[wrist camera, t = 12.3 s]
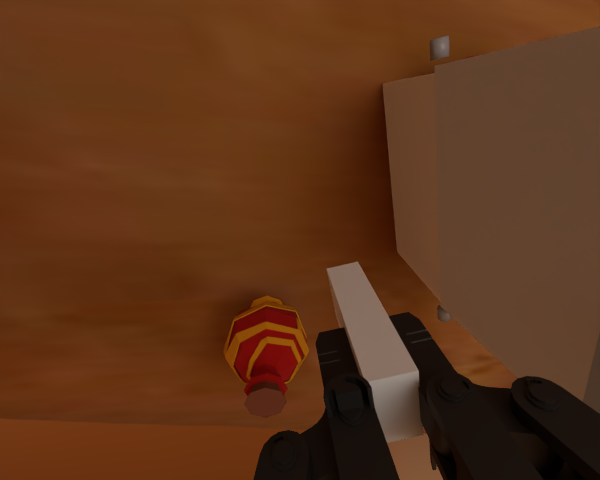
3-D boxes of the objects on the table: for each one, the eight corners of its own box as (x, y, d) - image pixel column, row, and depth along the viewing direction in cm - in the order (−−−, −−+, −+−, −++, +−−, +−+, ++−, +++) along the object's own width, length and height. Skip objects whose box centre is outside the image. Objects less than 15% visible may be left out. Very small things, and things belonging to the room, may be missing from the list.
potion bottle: (228, 281, 42) (208, 366, 28) (304, 279, 43) (320, 361, 29) (232, 342, 46) (216, 441, 32) (301, 339, 47) (314, 436, 33)
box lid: (445, 63, 22) (434, 65, 22) (759, -12, 9) (734, -6, 9) (447, 303, 30) (440, 306, 30) (609, 446, 17) (596, 451, 17)
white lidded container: (373, 63, 33) (434, 38, 21) (499, 35, 33) (637, -8, 21) (391, 259, 43) (441, 323, 31) (489, 237, 43) (578, 292, 30)
